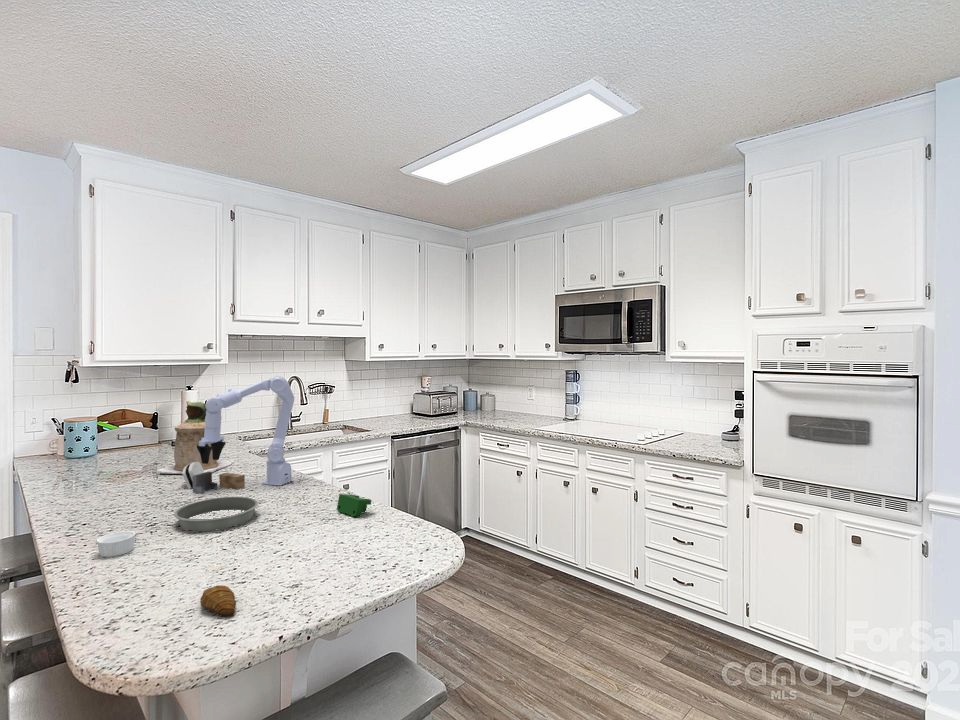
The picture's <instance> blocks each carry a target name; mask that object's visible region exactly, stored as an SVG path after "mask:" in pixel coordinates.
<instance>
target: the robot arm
mask: <svg viewBox="0 0 960 720" xmlns="http://www.w3.org/2000/svg"><path fill="white" fill-rule="evenodd" d="M270 390H271V391H272V392H273V393H275V394H276V395H278V397H279V398H280V400H281V401H282V402H281V406H280V410H279V415H278V418H277V422H276V427H275V432H274V433H273V439H272V443H271V444H270V446H269V447H268V449H267V456H266V457H267V460H266V481H263V482H261V483H262V485H270V486H276V485H280V486H282V485H281V484H283V485H285V484H284V483H286V484H288V483H287V482H289V481H292V480H293V479H292V465H291V464H290V462H289V463H288V461H286V458H284V455H285V453H284V452H285V448H284V444H285V440H286V435H287V431H288V427H289V423H290V420H291V415H292V410H293V407H294V402H295V396H294V392H293V390H292V388H291V386H290V383H289V382H288V381H287V379H285V378H284V377H283V376H281V375H280V376H278V375H277V376H274V377H270V378H267V379H263V380H260V381H258V382H256V383H254V384H251V385H249V386H246V387H245V388H242V389H237V388H233V389H232V388H230V389H228V391H226V392H223V393H221V394H216V395H215V396H216V397H211V398H209V399H208V400H207V401H206V403H205V405H206V409H207V411H206V417H205V432H204V438H201V441H199V445H197V449H198V451H199V453H200V456H201V460H202V463H204V464H208V462H209V457H210V453H211V450H212V457H213V460H220V457H221V454H222V451H223V449H224V448H225V446H226V444H227V443H226V441H225V436H224V435H221V432H222V430H221V429H222V428H221V427H222V409H227V408H229V407H231V406H234V405H237V404H238V403H241V402H242V401H243V398H245V397H247V396H249V395H252V394H256V393H258V392H260V391H266V392H267V391H270ZM209 444H211V446H208V445H209ZM289 483H290V482H289Z"/></svg>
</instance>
